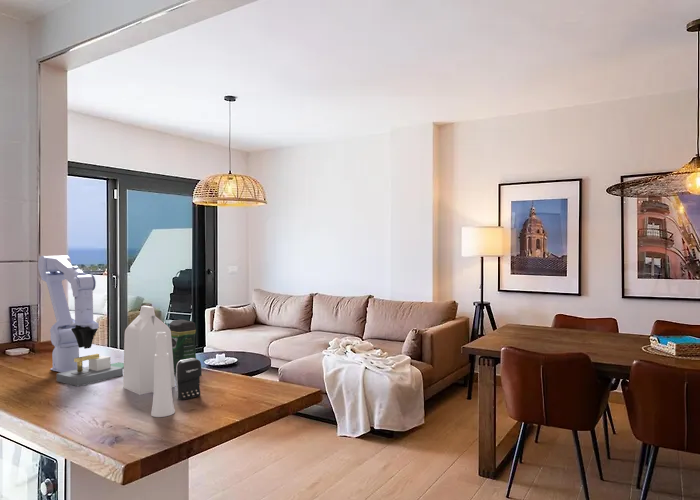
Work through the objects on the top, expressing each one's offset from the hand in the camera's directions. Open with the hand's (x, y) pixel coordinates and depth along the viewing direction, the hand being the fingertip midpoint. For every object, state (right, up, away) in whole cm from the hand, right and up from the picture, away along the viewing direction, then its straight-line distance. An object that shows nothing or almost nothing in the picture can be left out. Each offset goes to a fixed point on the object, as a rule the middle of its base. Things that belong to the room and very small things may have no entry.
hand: (84, 347), depth 178 cm
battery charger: (+46, -10, -28) cm, 55 cm away
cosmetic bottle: (+43, -10, -42) cm, 61 cm away
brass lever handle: (+3, -7, -4) cm, 9 cm away
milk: (+29, -10, -16) cm, 34 cm away
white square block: (+5, -7, 0) cm, 9 cm away
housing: (+4, -10, -3) cm, 11 cm away
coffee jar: (+33, -10, +4) cm, 35 cm away
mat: (+5, -10, +12) cm, 16 cm away
